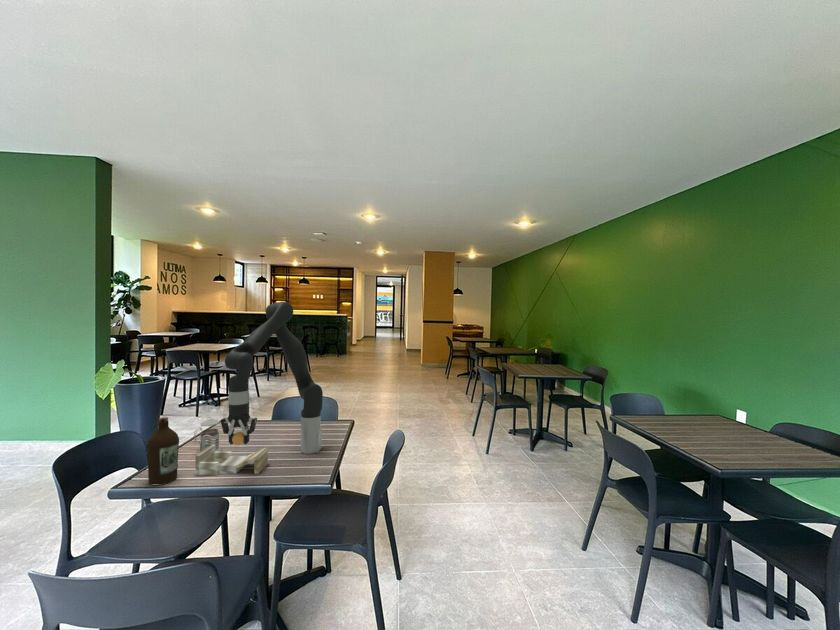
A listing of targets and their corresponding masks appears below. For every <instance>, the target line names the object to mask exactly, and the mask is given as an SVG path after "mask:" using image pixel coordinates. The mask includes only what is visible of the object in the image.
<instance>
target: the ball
mask: <svg viewBox="0 0 840 630" xmlns="http://www.w3.org/2000/svg"><path fill="white" fill-rule="evenodd" d="M233 434H234V435H233V437H232V442H233V445H236V446H240V445H242V444H243V445H244V432H242V431H238V432H234V433H233Z"/></svg>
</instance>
